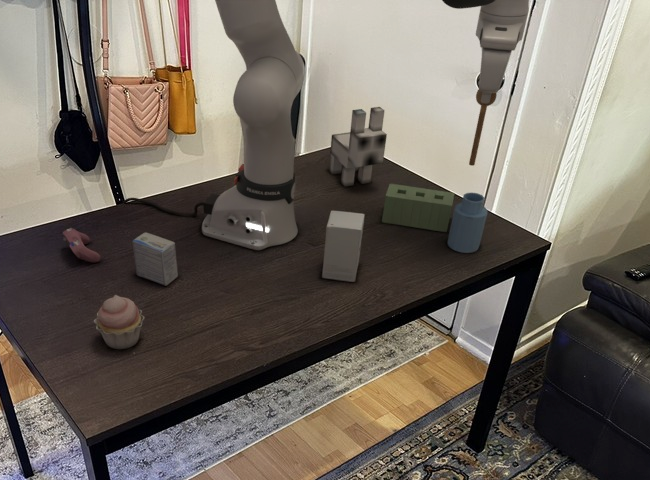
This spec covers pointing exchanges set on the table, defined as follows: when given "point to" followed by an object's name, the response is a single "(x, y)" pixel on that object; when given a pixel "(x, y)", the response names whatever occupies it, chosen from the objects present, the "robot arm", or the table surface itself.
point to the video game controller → (80, 245)
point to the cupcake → (119, 322)
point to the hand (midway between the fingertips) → (485, 100)
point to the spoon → (480, 124)
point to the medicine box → (155, 258)
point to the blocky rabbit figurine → (358, 147)
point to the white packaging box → (342, 245)
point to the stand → (417, 207)
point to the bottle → (468, 224)
